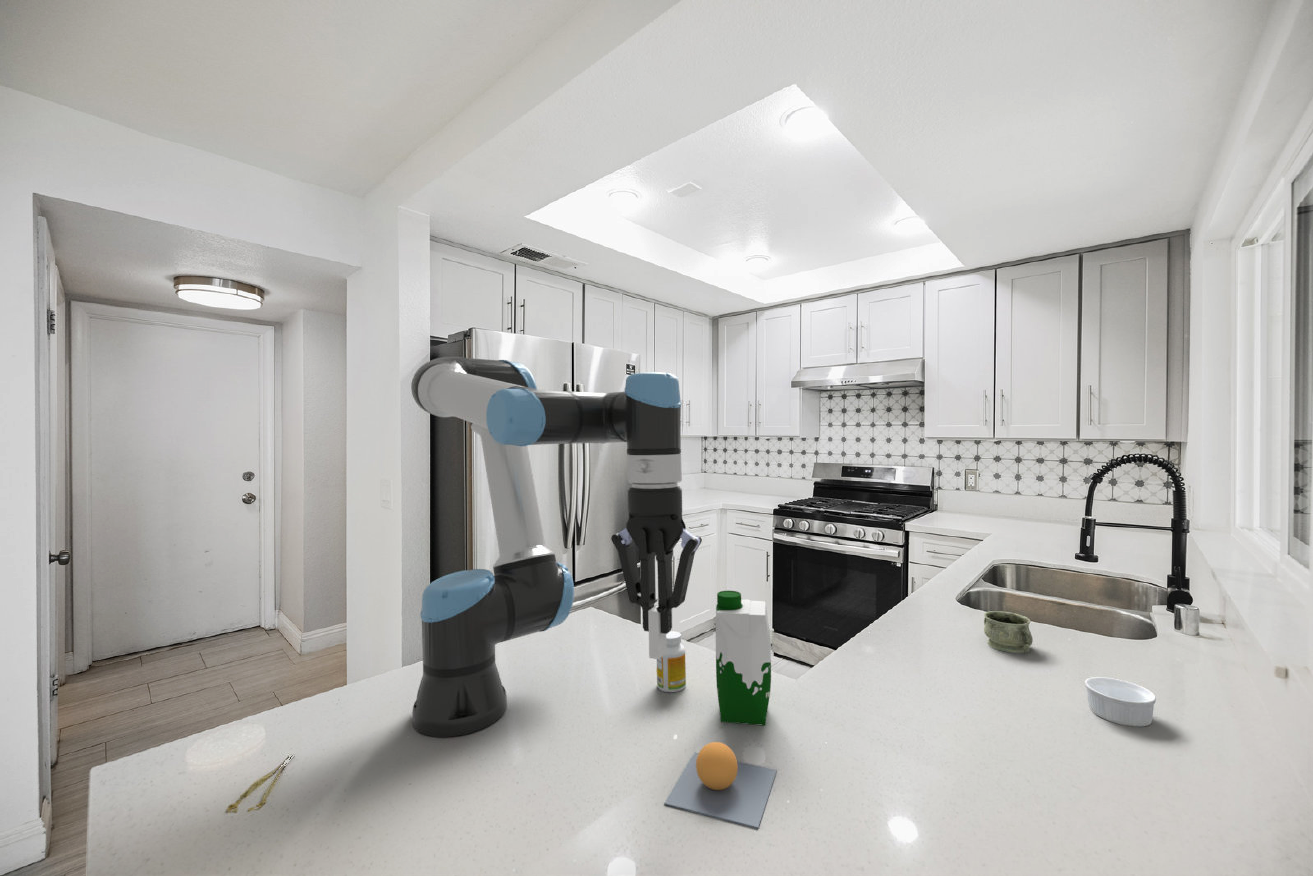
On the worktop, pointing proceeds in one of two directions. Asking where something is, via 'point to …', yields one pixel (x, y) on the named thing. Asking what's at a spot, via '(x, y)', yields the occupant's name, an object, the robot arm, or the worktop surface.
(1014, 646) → the vessel
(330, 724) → the worktop surface
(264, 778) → the tongs
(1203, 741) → the worktop surface
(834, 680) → the worktop surface
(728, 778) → the ball
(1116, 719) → the ramekin
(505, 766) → the worktop surface
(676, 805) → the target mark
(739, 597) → the milk carton
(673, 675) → the supplement bottle
